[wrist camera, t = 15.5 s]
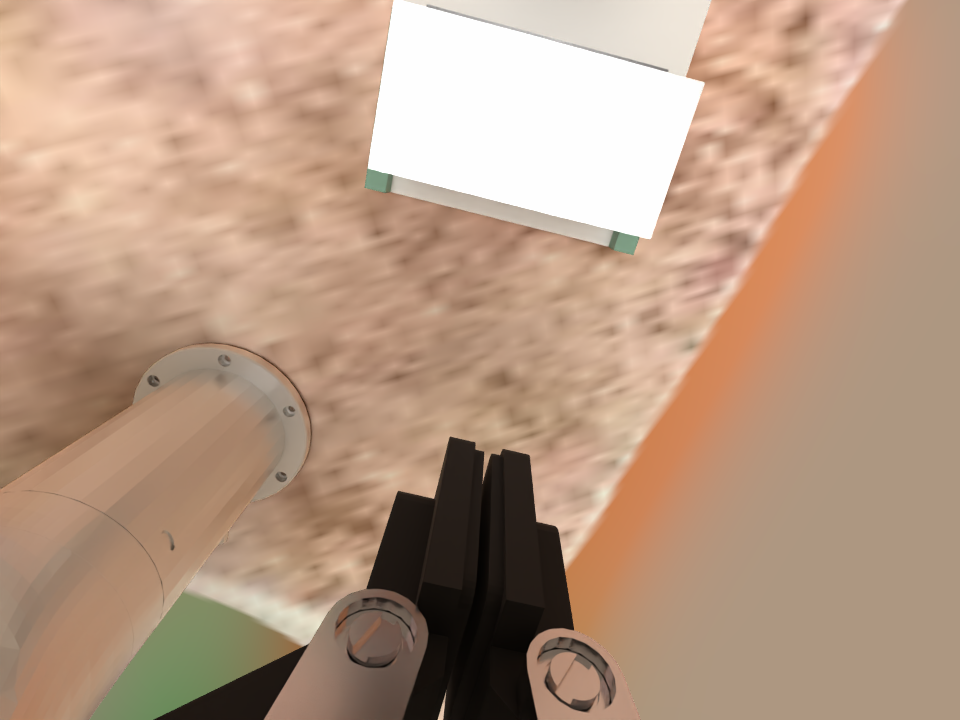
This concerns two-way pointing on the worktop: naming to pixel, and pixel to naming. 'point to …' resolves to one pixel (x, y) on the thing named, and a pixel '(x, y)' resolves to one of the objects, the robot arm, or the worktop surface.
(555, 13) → the frame
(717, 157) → the worktop surface
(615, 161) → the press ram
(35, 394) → the worktop surface
